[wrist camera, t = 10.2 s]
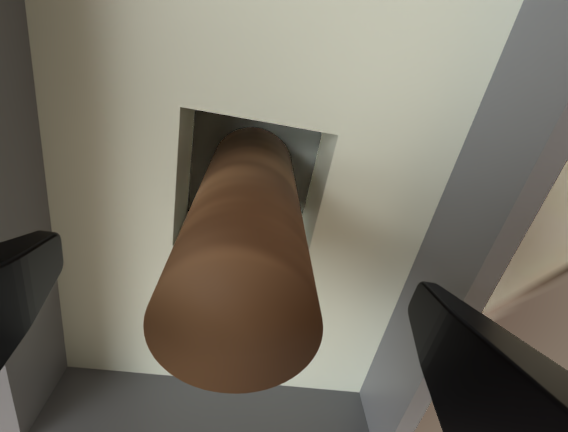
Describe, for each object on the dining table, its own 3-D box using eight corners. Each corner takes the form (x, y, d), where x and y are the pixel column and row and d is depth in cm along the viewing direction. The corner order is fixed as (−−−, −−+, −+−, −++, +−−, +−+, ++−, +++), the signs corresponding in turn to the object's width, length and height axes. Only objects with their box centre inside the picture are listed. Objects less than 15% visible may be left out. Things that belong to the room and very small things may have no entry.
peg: (209, 196, 16) (141, 386, 8) (216, 120, 15) (144, 247, 6) (283, 207, 17) (302, 399, 8) (298, 135, 15) (342, 274, 6)
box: (80, 330, 20) (3, 452, 14) (29, -244, 10) (-289, -616, 4) (356, 358, 22) (389, 475, 16) (535, -100, 12) (783, -225, 6)
